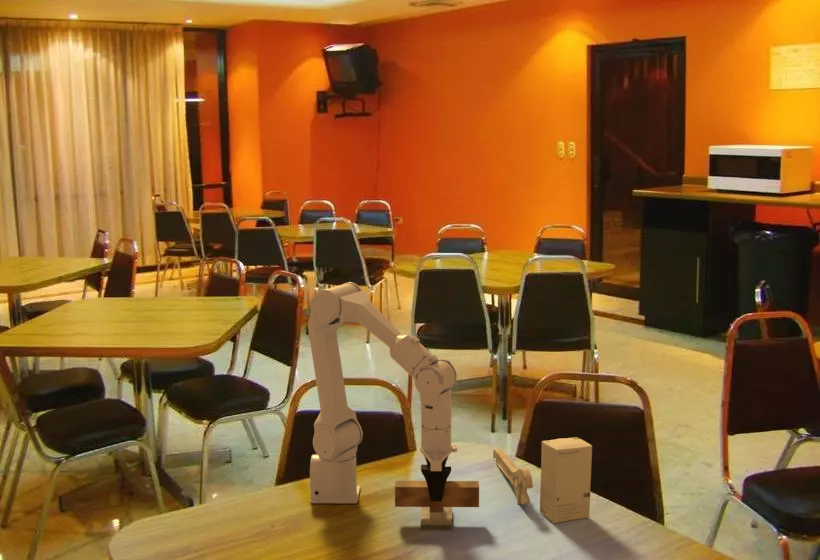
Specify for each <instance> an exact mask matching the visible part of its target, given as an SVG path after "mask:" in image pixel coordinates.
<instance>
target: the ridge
mask: <svg viewBox="0 0 820 560" xmlns="http://www.w3.org/2000/svg"><path fill="white" fill-rule="evenodd" d="M452 509H453V507H420V523H419V524H420V527H419V528H420V531H453V510H452Z"/></svg>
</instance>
